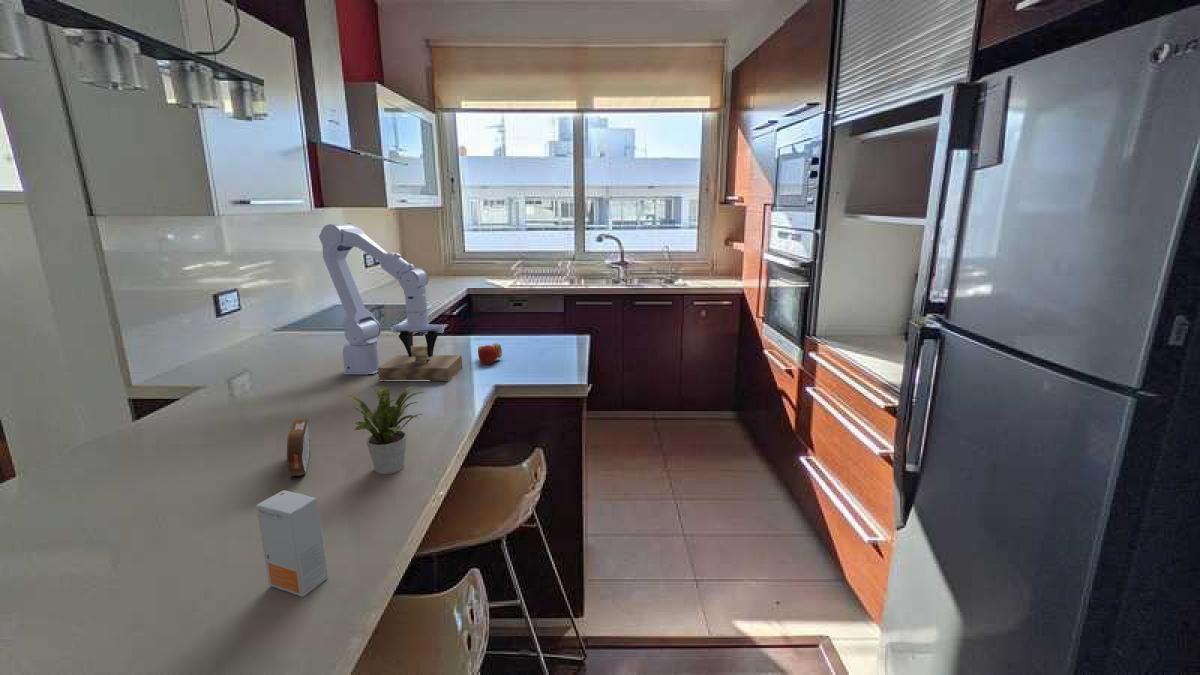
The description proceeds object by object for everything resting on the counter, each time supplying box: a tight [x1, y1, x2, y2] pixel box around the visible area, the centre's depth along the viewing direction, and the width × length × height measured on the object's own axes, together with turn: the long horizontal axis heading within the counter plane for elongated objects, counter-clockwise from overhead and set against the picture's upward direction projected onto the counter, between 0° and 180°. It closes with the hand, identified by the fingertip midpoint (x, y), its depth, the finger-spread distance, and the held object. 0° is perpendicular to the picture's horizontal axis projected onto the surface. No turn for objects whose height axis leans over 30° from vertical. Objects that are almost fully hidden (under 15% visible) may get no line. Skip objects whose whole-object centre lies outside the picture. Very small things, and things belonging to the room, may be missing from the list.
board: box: [377, 354, 463, 382], centre depth 161 cm, size 20×14×4 cm
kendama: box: [477, 343, 503, 365], centre depth 178 cm, size 8×6×18 cm
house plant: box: [346, 383, 425, 475], centre depth 101 cm, size 14×14×16 cm
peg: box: [411, 343, 428, 363], centre depth 160 cm, size 5×5×6 cm
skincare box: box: [255, 489, 329, 598], centre depth 70 cm, size 6×4×12 cm
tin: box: [286, 418, 311, 478], centre depth 104 cm, size 15×3×8 cm, turn 23°
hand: (420, 356), depth 161 cm, fingers closed on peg, 5 cm apart
